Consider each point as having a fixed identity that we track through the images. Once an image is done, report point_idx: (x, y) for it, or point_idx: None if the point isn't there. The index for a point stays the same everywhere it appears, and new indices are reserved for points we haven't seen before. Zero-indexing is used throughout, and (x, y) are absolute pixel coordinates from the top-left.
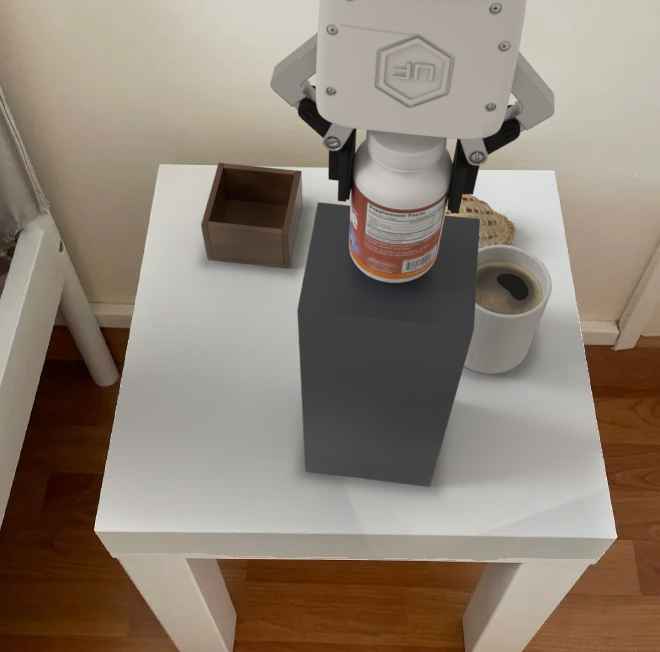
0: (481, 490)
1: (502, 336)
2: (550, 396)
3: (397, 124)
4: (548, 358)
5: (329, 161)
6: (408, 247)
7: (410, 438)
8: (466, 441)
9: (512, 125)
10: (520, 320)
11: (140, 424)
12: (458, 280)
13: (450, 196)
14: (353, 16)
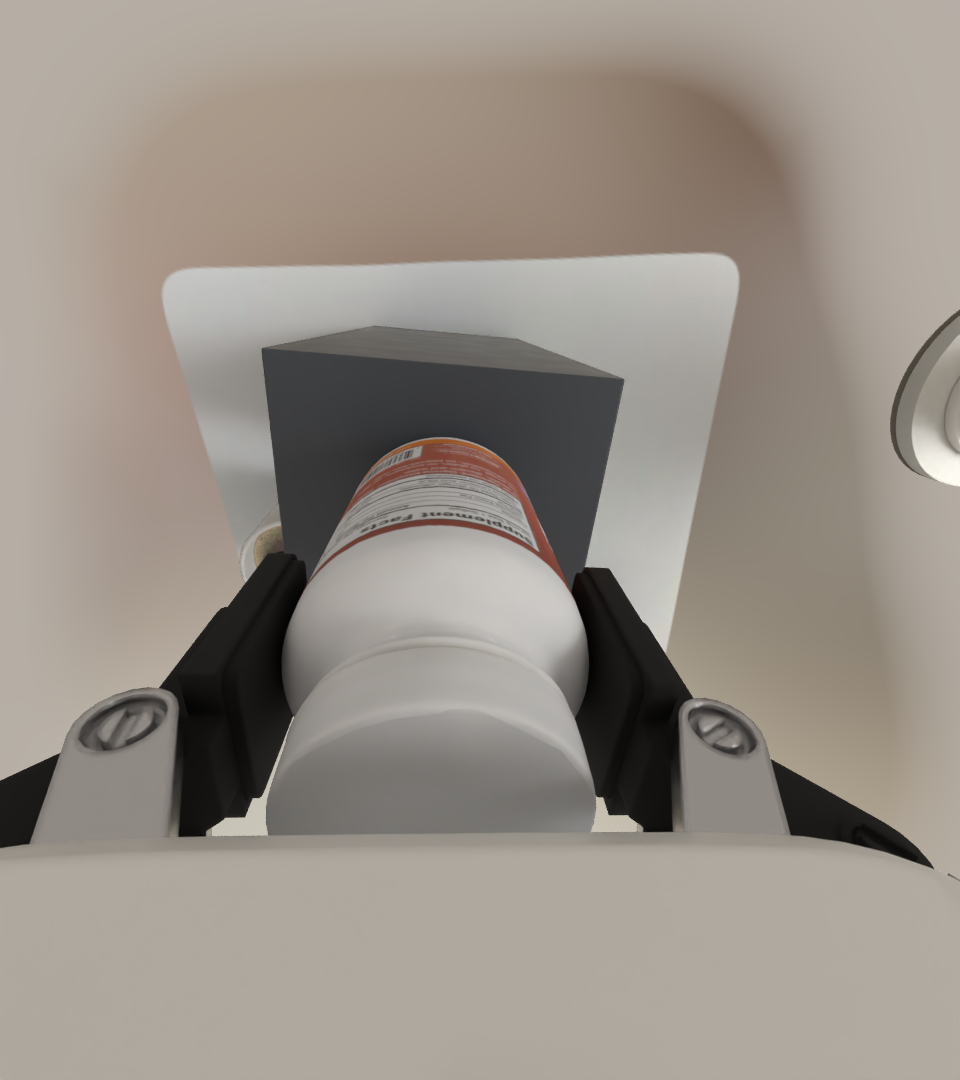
0: (313, 324)
1: None
2: (248, 454)
3: (524, 930)
4: (256, 502)
5: (671, 666)
6: (408, 473)
7: (397, 333)
8: None
9: None
10: (273, 519)
11: (697, 390)
12: (311, 473)
13: (284, 589)
14: None
